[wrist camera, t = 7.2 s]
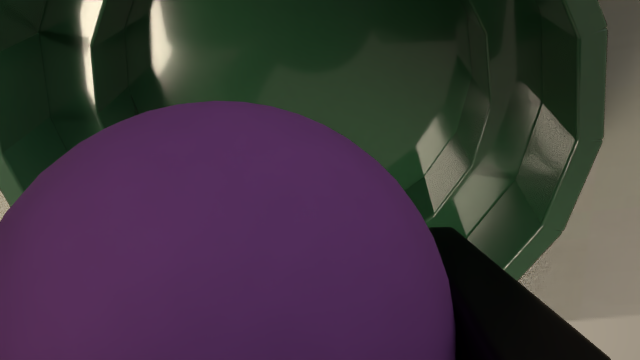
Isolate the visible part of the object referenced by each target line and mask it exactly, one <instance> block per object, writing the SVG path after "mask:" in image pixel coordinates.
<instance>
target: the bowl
mask: <svg viewBox="0 0 640 360" xmlns="http://www.w3.org/2000/svg"><path fill="white" fill-rule="evenodd" d="M606 27H607V23H606V20H605V18H604V15H603V12H602V10H601V7H600V4H599V2H598V0H0V190H1V192H2V194H3V195H4V197H5V199H6V200H7V202H8V204H9V205H10V207H11V206H12V205H13V204H14V203H15V202H16V200H17V199H18V198H19V197H20V196H21V195H22V193H23V192H24V191H25V190H26V189H27V188H28V187H29V186H30V184H31V183H32V182H33V181H34V180H35V179H36V178H37V177H38V175H39V174H40V173H41V172H43V171H44V170H45V169H46V168H48V167H49V166H50V165H51V164H53V163H54V162H55V161H57V160H58V159H59V158H60V157H62V156H63V155H64V154H65V153H67V152H68V151H69V150H71V149H72V148H73V147H75V146H76V145H77V144H78V143H80V142H82V141H83V140H85V139H87V138H89V137H91V136H92V135H94V134H96V133H98V132H99V131H101V130H103V129H105V128H107V127H109V126H111V125H114V124H116V123H118V122H120V121H123V120H125V119H128V118H131V117H133V116H136V115H139V114H141V113H144V112H147V111H150V110H155V109H159V108H164V107H168V106H172V105H177V104H186V103H196V102H207V101H236V102H248V103H254V104H260V105H267V106H272V107H276V108H279V109H283V110H286V111H290V112H293V113H297V114H300V115H302V116H304V117H307V118H309V119H312V120H314V121H316V122H319V123H321V124H323V125H325V126H327V127H329V128H331V129H332V130H334V131H336V132H338V133H339V134H341V135H343V136H344V137H346V138H348V139H349V140H351V141H352V142H353V143H355V144H356V145H357V146H358V147H360V148H361V149H362V150H364V151H365V152H366V153H368V154H369V155H370V156H371V157H373V158H374V159H375V160H376V161H378V162H379V163H380V164H381V165H382V166H383V167H384V168H385V169H386V170H387V171H388V172H389V173H390V174H391V175H392V176H393V177H394V178H395V179H396V180H397V182H398V183H399V184H400V186H401V187H402V188H403V190H404V191H405V192H406V194H407V195H408V196H409V198H410V199H411V200H412V202H413V203H414V205H415V206H416V208H417V209H418V211H419V212H420V214H421V215H422V217H423V219H424V221H425V223H426V225H427V227H428V228H429V227H452V228H454V229H455V230H456V231H458V232H459V233H460V234H461V235H462V236H464V237H465V238H466V239H467V240H468V241H470V242H471V243H472V244H473V245H474V246H476V247H477V248H478V249H479V250H481V251H482V252H483V253H484V254H485V255H487V256H488V257H489V258H490V259H491V260H493V261H494V262H495V263H496V264H497V265H499V266H500V267H501V268H502V269H503V270H505V271H506V272H507V273H508V274H509V275H511V276H512V277H513V278H514V279H515V280H517V281H518V280H519V279H520V278H521V277H522V276H523V275H524V274H525V273H526V271H527V270H528V269H529V268H530V267H531V266H532V265H533V264H534V263H535V262H536V261H537V260H538V259H539V257H540V256H541V255H542V254H543V253H544V252H545V251H546V250H547V249H548V248H549V247H550V246H551V245H552V243H553V242H554V241H555V240H556V239H557V238H558V237H559V236H560V235H561V233H562V231H563V230H564V229H565V227H566V224H567V222H568V220H569V218H570V215H571V213H572V211H573V208H574V206H575V204H576V201H577V199H578V197H579V195H580V192H581V190H582V188H583V185H584V183H585V181H586V179H587V176H588V174H589V172H590V169H591V167H592V165H593V163H594V160H595V158H596V156H597V153H598V151H599V149H600V147H601V144H602V139H603V137H604V112H605V87H606V62H607V36H608V30H607V28H606Z"/></svg>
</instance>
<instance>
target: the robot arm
mask: <svg viewBox="0 0 640 360" xmlns="http://www.w3.org/2000/svg"><path fill="white" fill-rule="evenodd" d="M429 230H430V232H431V234H432V236H433V238H434V240H435V243H436V246H437V248H438V251H439V254H440V257H441V259H442V262H443V265H444V268H445V271H446V274H447V277H448V280H449V286H450V292H451V298H452V304H453V310H454V317H455V323H456V350H455V360H611V359H610V358H609V357H608V356H607V355H606V354H605V353H603V352H602V351H601V350H600V349H599V348H597V347H596V346H595V345H594V344H593V343H591V342H590V341H589V340H588V339H587V338H585V337H584V336H583V335H582V334H581V333H579V332H578V331H577V330H576V329H575V328H573V327H572V326H571V325H570V324H569V323H567V322H566V321H565V320H564V319H562V318H561V317H560V316H559V315H558V314H556V313H555V312H554V311H553V310H552V309H550V308H549V307H548V306H547V305H546V304H544V303H543V302H542V301H541V300H540V299H538V298H537V297H536V296H535V295H534V294H532V293H531V292H530V291H529V290H528V289H526V288H525V287H524V286H523V285H521V284H520V283H519V282H518V281H517V280H515V279H514V278H513V277H512V276H511V275H509V274H508V273H507V272H506V271H505V270H503V269H502V268H501V267H500V266H499V265H497V264H496V263H495V262H494V261H493V260H491V259H490V258H489V257H488V256H487V255H485V254H484V253H483V252H482V251H481V250H479V249H478V248H477V247H476V246H474V245H473V244H472V243H471V242H470V241H468V240H467V239H466V238H465V237H464V236H462V235H461V234H460V233H459V232H458V231H456V230H455V229H454V228H452V227H429Z"/></svg>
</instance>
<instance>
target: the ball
mask: <svg viewBox="0 0 640 360" xmlns="http://www.w3.org/2000/svg"><path fill="white" fill-rule="evenodd" d="M455 350H456V323H455V317H454V310H453V304H452V298H451V292H450V286H449V280H448V277H447V274H446V271H445V268H444V265H443V262H442V259H441V257H440V254H439V251H438V248H437V246H436V243H435V240H434V238H433V236H432V234H431V232H430V230H429V228H428V227H427V225H426V223H425V221H424V219H423V217H422V215H421V214H420V212H419V211H418V209H417V208H416V206H415V205H414V203H413V202H412V200H411V199H410V198H409V196H408V195H407V194H406V192H405V191H404V190H403V188H402V187H401V186H400V184H399V183H398V182H397V180H396V179H395V178H394V177H393V176H392V175H391V174H390V173H389V172H388V171H387V170H386V169H385V168H384V167H383V166H382V165H381V164H380V163H379V162H378V161H376V160H375V159H374V158H373V157H371V156H370V155H369V154H368V153H366V152H365V151H364V150H362V149H361V148H360V147H358V146H357V145H356V144H355V143H353V142H352V141H351V140H349V139H348V138H346V137H344V136H343V135H341V134H339V133H338V132H336V131H334V130H332V129H331V128H329V127H327V126H325V125H323V124H321V123H319V122H316V121H314V120H312V119H309V118H307V117H304V116H302V115H300V114H297V113H293V112H290V111H286V110H283V109H279V108H276V107H272V106H267V105H260V104H254V103H248V102H236V101H207V102H196V103H186V104H177V105H172V106H168V107H164V108H159V109H155V110H150V111H147V112H144V113H141V114H139V115H136V116H133V117H131V118H128V119H125V120H123V121H120V122H118V123H116V124H114V125H111V126H109V127H107V128H105V129H103V130H101V131H99V132H98V133H96V134H94V135H92V136H91V137H89V138H87V139H85V140H83V141H82V142H80V143H78V144H77V145H76V146H75V147H73V148H72V149H71V150H69V151H68V152H67V153H65V154H64V155H63V156H62V157H60V158H59V159H58V160H57V161H55V162H54V163H53V164H51V165H50V166H49V167H48V168H46V169H45V170H44V171H43V172H41V173H40V174H39V175H38V177H37V178H36V179H35V180H34V181H33V182H32V183H31V184H30V186H29V187H28V188H27V189H26V190H25V191H24V192H23V193H22V195H21V196H20V197H19V198H18V199H17V200H16V202H15V203H14V204H13V205H12V206H11V207H10V208H9V210H8V211H7V212H6V213H5V215H4V216H3V218H2V220H1V222H0V360H455Z"/></svg>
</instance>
